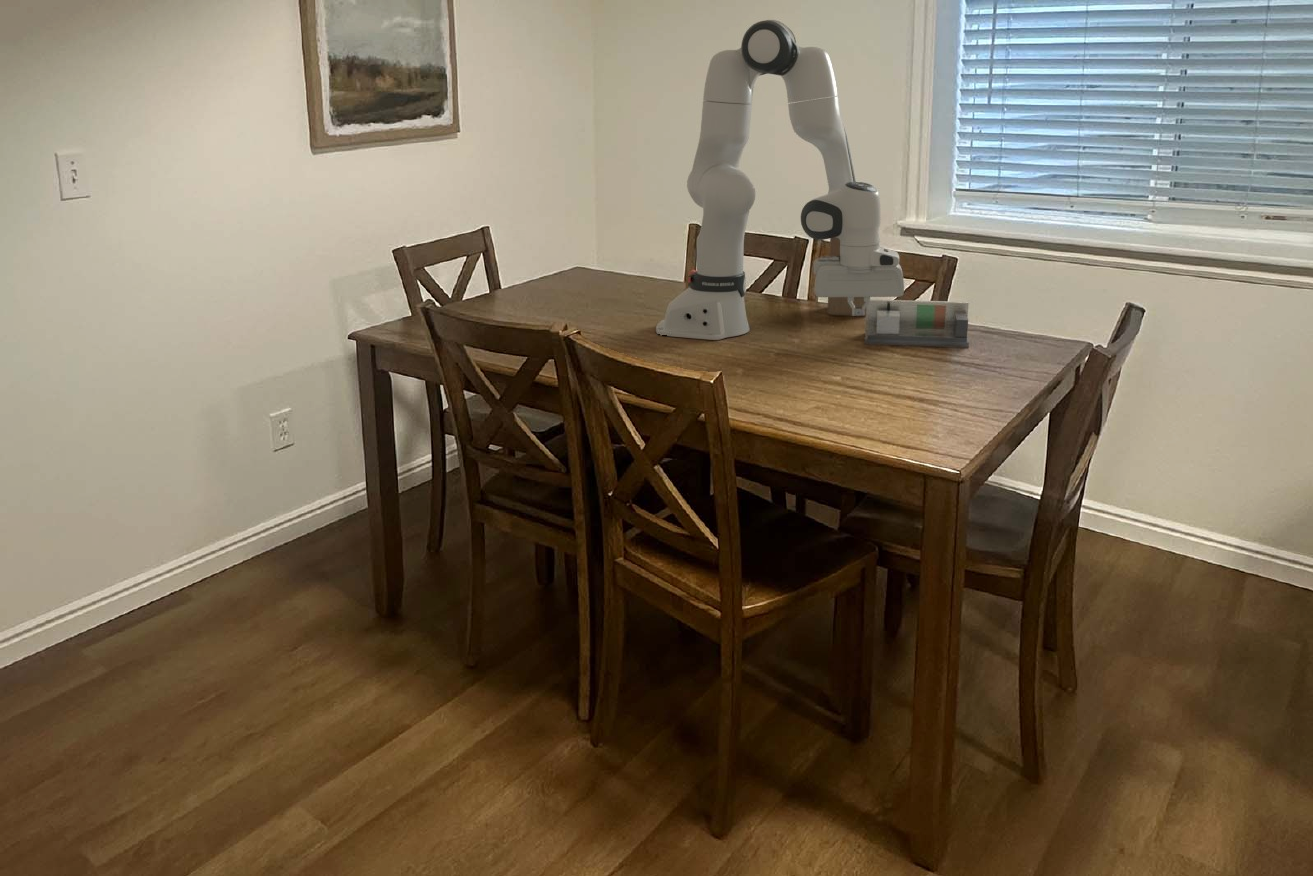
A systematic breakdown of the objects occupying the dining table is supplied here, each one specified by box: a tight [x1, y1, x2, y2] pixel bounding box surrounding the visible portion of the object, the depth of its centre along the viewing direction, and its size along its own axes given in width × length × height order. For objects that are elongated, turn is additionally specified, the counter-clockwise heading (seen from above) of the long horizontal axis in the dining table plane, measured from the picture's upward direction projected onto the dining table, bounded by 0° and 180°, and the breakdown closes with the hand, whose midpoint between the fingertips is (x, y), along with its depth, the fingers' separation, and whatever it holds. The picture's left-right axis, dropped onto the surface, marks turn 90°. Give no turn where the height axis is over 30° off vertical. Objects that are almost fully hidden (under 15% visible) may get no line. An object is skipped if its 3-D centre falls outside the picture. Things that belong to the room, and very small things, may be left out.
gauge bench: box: [864, 299, 970, 349], centre depth 258 cm, size 23×10×8 cm, turn 79°
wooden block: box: [827, 238, 867, 317], centre depth 282 cm, size 10×10×20 cm
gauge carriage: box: [876, 303, 900, 335], centre depth 258 cm, size 5×7×6 cm
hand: (858, 315), depth 259 cm, fingers closed
